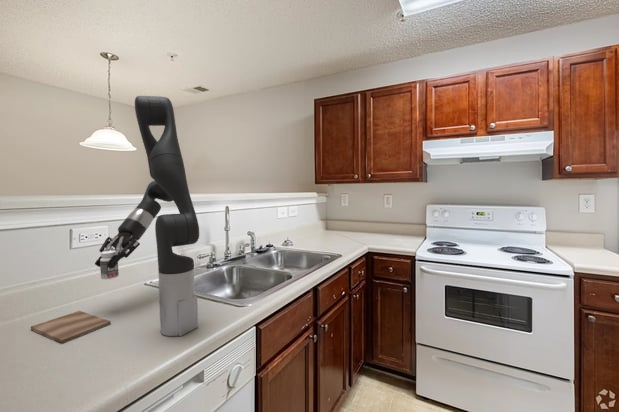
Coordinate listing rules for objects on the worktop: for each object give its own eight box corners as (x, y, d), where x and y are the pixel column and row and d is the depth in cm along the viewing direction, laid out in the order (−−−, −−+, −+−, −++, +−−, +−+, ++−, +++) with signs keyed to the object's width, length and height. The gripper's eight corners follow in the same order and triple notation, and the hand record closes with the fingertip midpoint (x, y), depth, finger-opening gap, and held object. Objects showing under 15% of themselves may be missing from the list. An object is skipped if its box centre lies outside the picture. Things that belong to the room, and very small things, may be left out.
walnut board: (110, 324, 85) (110, 321, 85) (61, 343, 75) (61, 340, 75) (79, 313, 93) (79, 310, 93) (30, 330, 82) (30, 326, 82)
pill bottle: (109, 280, 90) (108, 253, 90) (97, 279, 91) (95, 253, 91) (122, 275, 95) (121, 250, 94) (110, 274, 96) (108, 250, 95)
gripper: (114, 216, 101) (78, 258, 91) (144, 218, 96) (109, 262, 86) (129, 229, 107) (97, 270, 96) (158, 231, 101) (127, 274, 91)
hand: (103, 266), depth 91 cm, fingers closed on pill bottle, 4 cm apart
